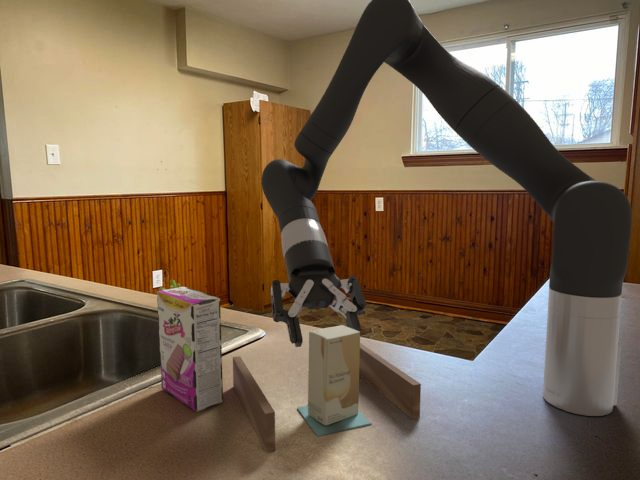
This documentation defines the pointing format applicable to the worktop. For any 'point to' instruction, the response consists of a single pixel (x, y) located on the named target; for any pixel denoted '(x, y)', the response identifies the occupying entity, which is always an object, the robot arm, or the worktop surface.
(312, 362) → the skincare box
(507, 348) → the worktop surface
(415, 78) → the robot arm
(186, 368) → the candy bar box
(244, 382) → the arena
